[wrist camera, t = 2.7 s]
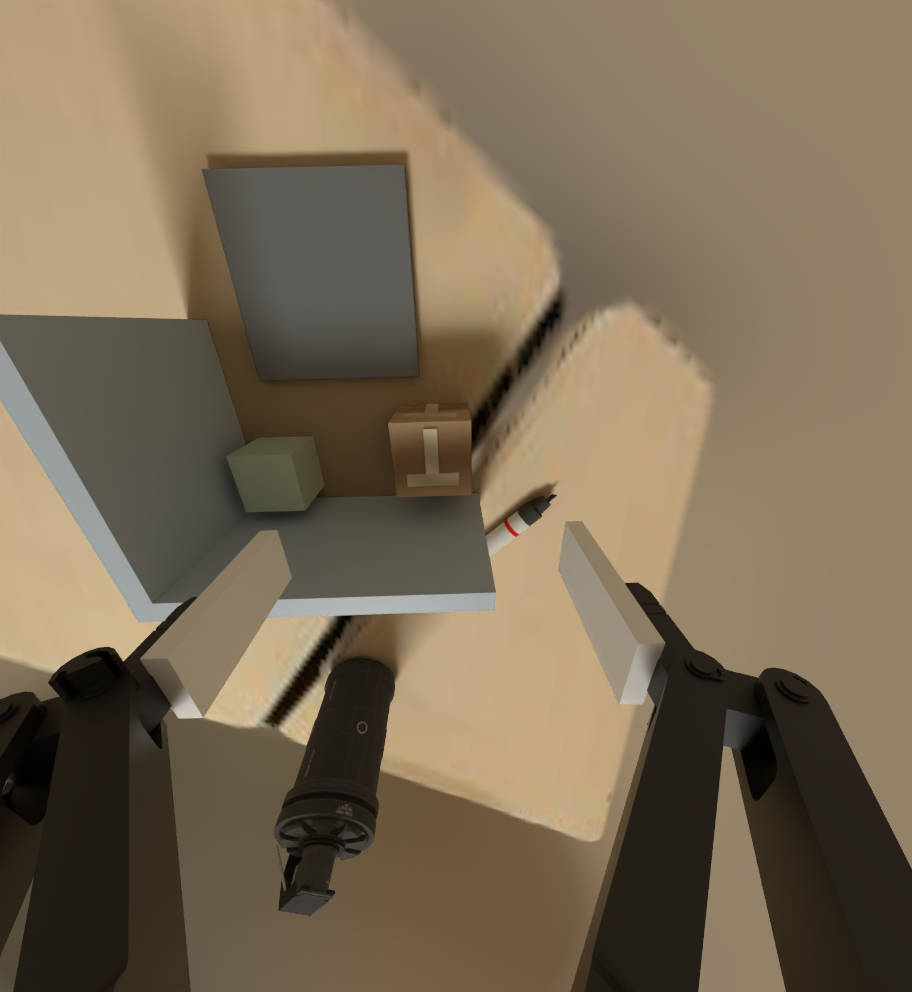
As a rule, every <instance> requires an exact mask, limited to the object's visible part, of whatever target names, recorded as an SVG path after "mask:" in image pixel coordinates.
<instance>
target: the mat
mask: <svg viewBox="0 0 912 992" xmlns="http://www.w3.org/2000/svg"><path fill="white" fill-rule="evenodd" d="M202 172H203V176H204V179H205V183H206V187H207V190H208V194H209V198H210V201H211V205H212V209H213V212H214V216H215V219H216V223H217V227H218V230H219V234H220V238H221V241H222V245H223V249H224V252H225V256H226V259H227V263H228V267H229V270H230V274H231V278H232V281H233V285H234V288H235V292H236V296H237V299H238V303H239V307H240V310H241V314H242V318H243V321H244V325H245V328H246V332H247V336H248V339H249V343H250V347H251V350H252V354H253V358H254V361H255V365H256V368H257V372H258V376H259V379H260V381H268V380H304V379H339V378H375V377H411V376H419V375H420V374H419V360H418V345H417V331H416V316H415V302H414V287H413V273H412V259H411V244H410V230H409V215H408V201H407V186H406V172H405V166H404V164H397V165H354V166H311V167H268V168H226V169H202Z"/></svg>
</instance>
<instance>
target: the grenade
mask: <svg viewBox="0 0 912 992" xmlns="http://www.w3.org/2000/svg"><path fill="white" fill-rule="evenodd" d="M394 691H395V682H394V678H393V676H392V674H391V673H390V671H389V670H388V669H386V668H385V667H384V666H382V665H381V664H379V663H377V662H374V661H371V660H365V659H356V660H350V661H346V662H344V663H341V664H339V665H338V666H336V667H335V668H334V669H333V670H332V672H331V673H330V674H329V676H328V678H327V681H326V684H325V695H324V698H323V701H322V704H321V707H320V710H319V713H318V716H317V719H316V720H315V723H314V726H313V729H312V732H311V735H310V738H309V741H308V743H307V746H306V752H305V755H304V758H303V761H302V764H301V767H300V770H299V773H298V777H297V779H296V782H295V785H294V787H293V788H292V789H291V790H290V791H289V792H288V793H287V795H286V797H285V800H284V803H283V806H282V811H281V813H280V815H279V817H278V820H277V823H276V826H275V829H274V837H275V839H276V840H277V841H278V842H279V844H280V846H281V848H287V852H288V853H290V855H289V858H288V861H287V864H286V868H285V871H284V873H283V868H282V863H281V858H280V854H279V849H278V846H276V853H277V859H278V863H279V869H280V873H281V878H282V882H281V890H280V900H279V911H283V912H290V913H296V914H303V915H310V916H311V915H312V914H313V913H314V912H316V911H317V910H318V909H319V908H321V907H322V906H323V905H324V904H326V903H327V902H328V900H330V899H331V898H332V897H333V894H335V891H333V890H328V888H329V883H330V878H331V873H332V869H333V864H334V860H335V859H336V858H337V857H339V858H340V859H341V860H345V859H349V858H353V857H355V856H357V855H358V854H359V853H360V852H361V851H363V850H365V849H366V848H368V847H369V846H370V845H371V844H372V843H373V840H374V835H375V828H376V818H377V814H378V808H379V803H378V800H377V798H376V791H377V784H378V778H379V772H380V765H381V760H382V757H383V751H384V745H385V738H386V732H387V730H386V727H387V720H388V714H389V707H390V703H391V701H392V700H393V697H394Z"/></svg>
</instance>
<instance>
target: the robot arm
mask: <svg viewBox="0 0 912 992" xmlns="http://www.w3.org/2000/svg"><path fill="white" fill-rule="evenodd" d="M558 570H559V572H560V574H561V577H562V579H563V581H564V583H565V586H566V588H567V590H568V592H569V594H570V597H571V599H572V601H573V603H574V606H575V608H576V610H577V612H578V614H579V617H580V619H581V621H582V623H583V626H584V628H585V630H586V632H587V634H588V637H589V639H590V641H591V643H592V646H593V648H594V650H595V652H596V654H597V657H598V659H599V661H600V663H601V666H602V668H603V670H604V672H605V674H606V677H607V679H608V681H609V683H610V685H611V688H612V690H613V692H614V694H615V697H616V699H617V701H618V703H619V705H627V704H643V703H644V700H645V698H646V695H647V693H649V695H650V697H651V698H652V701H653V702H654V704H655V706H654V708H653V711H652V713H651V716H650V718H649V721H648V724H647V725H648V728H647V732H646V735H645V738H644V742H643V745H642V749H641V752H640V756H639V759H638V763H637V766H636V770H635V773H634V776H633V780H632V783H631V787H630V790H629V793H628V797H627V800H626V804H625V807H624V811H623V814H622V817H621V821H620V825H619V828H618V832H617V835H616V838H615V841H614V845H613V848H612V852H611V856H610V859H609V862H608V866H607V869H606V873H605V876H604V879H603V883H602V886H601V890H600V893H599V897H598V900H597V903H596V907H595V910H594V914H593V917H592V920H591V924H590V927H589V931H588V934H587V938H586V941H585V945H584V948H583V951H582V955H581V958H580V962H579V965H578V969H577V972H576V975H575V979H574V982H573V985H572V989H571V992H698V988H699V978H700V968H701V959H702V949H703V939H704V928H705V918H706V909H707V899H708V889H709V880H710V869H711V860H712V850H713V840H714V830H715V820H716V811H717V801H718V791H719V790H718V789H719V780H720V771H721V761H722V751H723V745H724V746H727V747H731V748H732V753H733V757H734V762H735V766H736V770H737V774H738V779H739V784H740V788H741V793H742V797H743V802H744V806H745V810H746V815H747V820H748V824H749V828H750V833H751V837H752V842H753V846H754V850H755V855H756V860H757V864H758V868H759V873H760V878H761V882H762V887H763V890H764V895H765V899H766V904H767V909H768V913H769V918H770V922H771V927H772V931H773V936H774V940H775V944H776V949H777V953H778V958H779V962H780V967H781V971H782V976H783V980H784V985H785V989H786V992H912V869H911V867H910V865H909V863H908V861H907V859H906V857H905V855H904V853H903V851H902V849H901V847H900V845H899V843H898V841H897V839H896V837H895V835H894V833H893V831H892V829H891V827H890V825H889V823H888V821H887V819H886V817H885V815H884V813H883V811H882V809H881V807H880V805H879V803H878V801H877V799H876V797H875V795H874V793H873V791H872V789H871V788H870V786H869V784H868V782H867V780H866V778H865V776H864V774H863V772H862V770H861V768H860V766H859V764H858V762H857V760H856V758H855V756H854V754H853V752H852V750H851V748H850V746H849V744H848V742H847V740H846V738H845V736H844V734H843V732H842V730H841V728H840V726H839V724H838V722H837V720H836V718H835V716H834V715H833V712H832V710H831V708H830V706H829V704H828V702H827V700H826V699H825V698H824V696H823V695H822V694H821V692H820V691H819V690H818V689H817V688H816V687H814V686H813V685H812V684H811V683H810V682H808V681H807V680H805V679H803V678H802V677H800V676H799V675H797V674H794V673H792V672H789V671H787V670H784V669H779V668H767V669H765V670H764V671H763V672H762V673H761V674H760V676H759V678H757V677H753V676H749V675H745V674H741V673H736V672H732V671H729V670H726V669H724V668H723V666H722V665H721V664H720V663H719V662H717V661H716V660H715V659H714V658H712V657H711V656H709V655H707V654H705V653H704V652H701V651H698V650H695V649H694V648H693V647H692V646H691V644H690V643H689V642H688V640H687V639H686V638H685V636H684V635H683V634H682V632H681V631H680V630H679V628H678V627H677V626H676V624H675V623H674V622H673V621H672V619H671V618H670V617H669V615H667V614H666V611H665V610H664V609H663V607H662V606H661V605H659V602H658V601H657V600H656V598H655V597H654V596H653V594H652V593H651V592H650V591H649V590H647V589H646V588H645V587H643V586H642V585H641V584H639V583H624V582H623V580H622V579H621V577H620V576H619V575H618V573H617V572H616V570H615V569H614V567H613V566H612V564H611V563H610V561H609V560H608V559H607V557H606V556H605V554H604V553H603V551H602V550H601V548H600V547H599V545H598V544H597V542H596V541H595V540H594V538H593V537H592V535H591V534H590V532H589V531H588V529H587V528H586V526H585V525H584V524H583V522H582V521H574V522H565V527H564V534H563V541H562V548H561V555H560V562H559V569H558ZM291 578H292V576H291V573H290V570H289V566H288V563H287V560H286V557H285V553H284V550H283V547H282V544H281V540H280V537H279V534H278V531H277V530H264V531H260V532H259V533H258V534H257V535H256V536H255V537H254V538H253V539H252V540H251V541H250V542H249V543H248V544H247V545H246V547H245V548H244V549H243V550H242V551H241V552H240V553H239V554H238V555H237V556H236V557H235V558H234V559H233V560H232V561H231V562H230V564H229V565H228V566H227V567H226V568H225V569H224V570H223V571H222V572H221V573H220V574H219V575H218V576H217V577H216V578H215V580H214V581H213V582H212V583H211V584H210V585H209V586H208V587H207V588H206V589H205V590H204V591H203V592H202V593H201V594H200V595H199V597H191V598H190V599H188V600H187V601H185V602H184V603H182V604H181V605H180V606H178V607H177V608H176V609H175V610H174V611H173V612H172V613H171V614H170V615H169V616H168V617H167V618H166V620H165V621H163V622H162V623H161V624H160V625H159V626H158V627H157V628H156V631H153V632H152V633H151V634H150V635H149V636H148V637H147V638H146V639H145V640H144V641H143V642H142V643H141V644H140V645H139V646H138V647H137V649H136V650H135V651H134V652H133V653H132V654H131V655H130V656H129V657H128V658H127V659H126V660H125V661H124V662H123V661H122V659H121V658H120V656H119V655H118V653H117V652H116V650H115V649H114V648H110V647H102V648H96V649H93V650H90V651H87V652H85V653H83V654H81V655H79V656H77V657H75V658H73V659H71V660H70V661H69V662H67V663H66V664H64V665H63V666H61V667H60V668H59V669H58V670H57V671H56V672H55V673H54V674H53V675H52V677H51V679H50V681H49V682H48V683H49V684H50V686H51V687H52V688H53V689H54V690H55V691H56V692H57V693H58V695H59V696H60V697H56V698H53V699H49V700H46V701H42V702H41V701H40V700H39V698H38V697H37V696H36V695H35V694H34V693H33V692H21V693H16V694H13V695H10V696H8V697H5V698H3V699H0V955H1V953H2V951H3V948H4V946H5V944H6V941H7V939H8V936H9V934H10V932H11V929H12V927H13V925H14V922H15V920H16V917H17V915H18V913H19V910H20V908H21V906H22V903H23V901H24V899H25V896H26V893H27V891H28V889H29V886H30V884H31V882H32V879H33V877H34V880H33V885H32V891H31V897H30V902H29V908H28V913H27V919H26V924H25V930H24V936H23V941H22V946H21V952H20V958H19V963H18V969H17V974H16V980H15V986H14V991H13V992H191V989H190V979H189V967H188V957H187V947H186V946H187V945H186V935H185V923H184V913H183V901H182V891H181V880H180V868H179V859H178V846H177V835H176V824H175V813H174V802H173V792H172V781H171V770H170V758H169V747H168V737H167V726H166V724H165V721H164V720H163V717H164V716H165V714H166V713H167V712H168V710H169V709H170V708H171V707H172V709H173V711H174V712H175V714H176V715H177V717H178V718H203V717H204V716H205V714H206V712H207V711H208V709H209V708H210V706H211V704H212V703H213V701H214V700H215V698H216V697H217V695H218V693H219V692H220V690H221V689H222V687H223V686H224V684H225V682H226V681H227V679H228V678H229V676H230V675H231V673H232V671H233V670H234V668H235V667H236V665H237V664H238V662H239V660H240V659H241V657H242V656H243V654H244V652H245V651H246V649H247V648H248V646H249V645H250V643H251V641H252V640H253V638H254V637H255V635H256V634H257V632H258V630H259V629H260V627H261V626H262V624H263V623H264V621H265V619H266V618H267V616H268V615H269V613H270V612H271V610H272V608H273V607H274V605H275V604H276V602H277V601H278V599H279V597H280V596H281V594H282V593H283V591H284V589H285V588H286V586H287V585H288V583H289V582H290V580H291ZM6 781H7V784H6V786H5V787H4V785H5V782H6ZM3 787H4V789H3ZM2 790H3V791H2Z"/></svg>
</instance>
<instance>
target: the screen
mask: <svg viewBox="0 0 912 992" xmlns="http://www.w3.org/2000/svg"><path fill="white" fill-rule="evenodd" d="M0 400H1V402H2V403H3V405H4V407H5V408H6V410H7V411H8V413H9V415H10V416H11V418H12V419H13V421H14V423H15V424H16V426H17V427H18V429H19V431H20V432H21V434H22V435H23V437H24V439H25V440H26V442H27V444H28V445H29V447H30V448H31V450H32V452H33V453H34V455H35V456H36V458H37V460H38V461H39V463H40V464H41V466H42V468H43V469H44V471H45V472H46V474H47V476H48V477H49V479H50V480H51V482H52V484H53V485H54V487H55V488H56V490H57V492H58V493H59V495H60V496H61V498H62V500H63V501H64V503H65V504H66V506H67V508H68V509H69V511H70V512H71V514H72V516H73V517H74V519H75V520H76V522H77V524H78V525H79V527H80V528H81V530H82V532H83V533H84V535H85V536H86V538H87V540H88V541H89V543H90V544H91V546H92V548H93V549H94V551H95V552H96V554H97V556H98V557H99V559H100V560H101V562H102V564H103V565H104V567H105V568H106V570H107V572H108V573H109V575H110V576H111V578H112V580H113V581H114V583H115V584H116V586H117V588H118V589H119V591H120V592H121V594H122V596H123V597H124V599H125V600H126V602H127V605H128V607H129V608H130V610H131V611H132V613H133V614H134V616H135V618H136V619H137V621H138V622H156V621H165V620H166V618H167V617H168V616H169V615H170V614H171V613H172V612H173V611H174V610H175V609H176V608H177V607H178V606H180V605H181V604H182V603H184V602H185V601H187V600H188V599H190V598H191V597H199V595H200V594H201V593H202V592H203V591H204V590H205V589H206V588H207V587H208V586H209V585H210V584H211V583H212V582H213V581H214V580H215V578H216V577H217V576H218V575H219V574H220V573H221V572H222V571H223V570H224V569H225V568H226V567H227V566H228V565H229V564H230V562H231V561H232V560H233V559H234V558H235V557H236V556H237V555H238V554H239V553H240V552H241V551H242V550H243V549H244V548H245V547H246V545H247V544H248V543H249V542H250V541H251V540H252V539H253V538H254V537H255V536H256V535H257V534H258V533H259V532H260V531H264V530H277V531H278V534H279V537H280V540H281V544H282V547H283V550H284V553H285V557H286V560H287V563H288V566H289V570H290V573H291V576H292V578H291V580H290V582H289V583H288V585H287V586H286V588H285V589H284V591H283V593H282V594H281V596H280V597H279V599H278V601H277V602H276V604H275V605H274V607H273V608H272V610H271V612H270V613H269V615H268V616H267V618H278V617H308V616H338V615H369V614H399V613H429V612H460V611H490V610H495V601H496V591H495V585H494V579H493V574H492V568H491V563H490V557H489V551H488V546H487V540H486V534H485V529H484V523H483V518H482V512H481V506H480V501H479V495H478V493H472V495H455V496H423V497H397V496H396V495H392V496H359V497H326V498H315V499H314V500H313V501H312V503H311V504H310V505H309V507H308V508H307V509H306V510H305V511H274V512H246V511H245V508H244V505H243V502H242V500H241V497H240V494H239V491H238V488H237V485H236V483H235V480H234V477H233V474H232V471H231V468H230V465H229V463H228V460H227V457H226V456H228V455H229V454H231V453H233V452H235V451H236V450H238V449H240V448H241V447H243V446H245V445H246V442H245V439H244V436H243V433H242V430H241V427H240V423H239V420H238V417H237V414H236V411H235V408H234V405H233V402H232V398H231V395H230V392H229V389H228V386H227V383H226V380H225V376H224V373H223V370H222V367H221V364H220V361H219V358H218V354H217V351H216V348H215V345H214V342H213V339H212V336H211V333H210V329H209V326H208V323H207V320H193V319H154V318H116V317H77V316H39V315H0Z"/></svg>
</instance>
